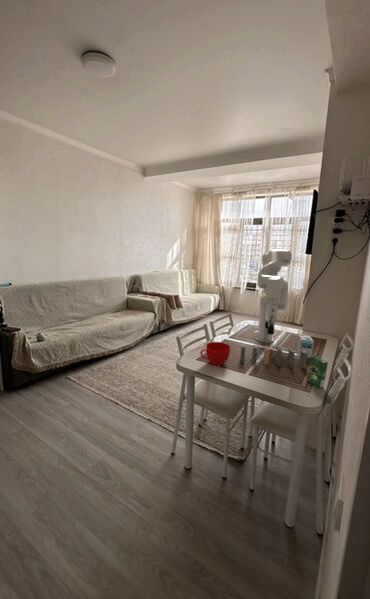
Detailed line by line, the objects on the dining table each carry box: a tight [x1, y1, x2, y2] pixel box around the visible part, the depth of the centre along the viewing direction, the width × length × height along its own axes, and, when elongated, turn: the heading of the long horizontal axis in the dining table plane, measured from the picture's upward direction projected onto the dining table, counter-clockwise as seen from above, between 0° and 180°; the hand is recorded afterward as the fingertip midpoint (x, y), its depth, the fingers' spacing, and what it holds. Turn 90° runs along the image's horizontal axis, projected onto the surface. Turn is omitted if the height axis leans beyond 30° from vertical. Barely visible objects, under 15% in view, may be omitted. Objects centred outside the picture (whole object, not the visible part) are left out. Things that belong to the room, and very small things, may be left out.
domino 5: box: [286, 348, 296, 368], centre depth 155 cm, size 2×5×9 cm, turn 171°
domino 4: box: [274, 346, 283, 367], centre depth 156 cm, size 2×5×9 cm, turn 171°
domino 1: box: [239, 343, 247, 363], centre depth 159 cm, size 2×5×9 cm, turn 171°
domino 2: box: [251, 344, 258, 365], centre depth 158 cm, size 2×5×9 cm, turn 171°
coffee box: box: [306, 355, 329, 389], centre depth 134 cm, size 8×3×13 cm, turn 22°
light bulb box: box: [296, 334, 315, 359], centre depth 172 cm, size 11×7×11 cm, turn 168°
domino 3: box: [263, 345, 271, 366], centre depth 157 cm, size 2×5×9 cm, turn 172°
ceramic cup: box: [199, 341, 231, 367], centre depth 153 cm, size 13×17×10 cm
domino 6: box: [298, 350, 308, 370], centre depth 154 cm, size 2×5×9 cm, turn 171°
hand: (269, 331), depth 155 cm, fingers open, 9 cm apart
